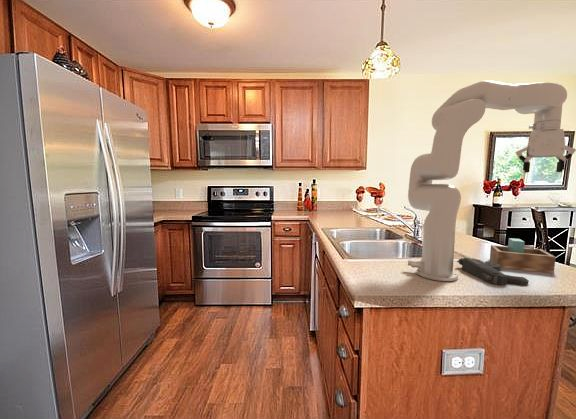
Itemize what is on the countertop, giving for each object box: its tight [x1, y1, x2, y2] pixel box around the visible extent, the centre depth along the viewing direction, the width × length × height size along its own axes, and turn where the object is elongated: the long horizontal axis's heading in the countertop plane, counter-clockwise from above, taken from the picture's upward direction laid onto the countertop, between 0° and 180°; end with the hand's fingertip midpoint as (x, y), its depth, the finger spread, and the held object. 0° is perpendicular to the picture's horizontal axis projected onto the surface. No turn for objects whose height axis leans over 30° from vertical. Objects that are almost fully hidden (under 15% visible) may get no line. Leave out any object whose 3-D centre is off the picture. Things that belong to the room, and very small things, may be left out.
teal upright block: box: [507, 237, 526, 253], centre depth 105 cm, size 4×9×9 cm, turn 153°
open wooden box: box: [489, 244, 556, 274], centre depth 105 cm, size 16×12×6 cm
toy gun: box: [456, 257, 530, 286], centre depth 94 cm, size 5×19×15 cm
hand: (542, 172), depth 105 cm, fingers open, 9 cm apart
